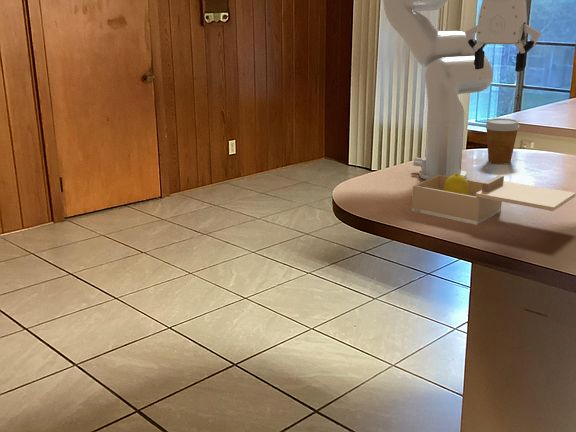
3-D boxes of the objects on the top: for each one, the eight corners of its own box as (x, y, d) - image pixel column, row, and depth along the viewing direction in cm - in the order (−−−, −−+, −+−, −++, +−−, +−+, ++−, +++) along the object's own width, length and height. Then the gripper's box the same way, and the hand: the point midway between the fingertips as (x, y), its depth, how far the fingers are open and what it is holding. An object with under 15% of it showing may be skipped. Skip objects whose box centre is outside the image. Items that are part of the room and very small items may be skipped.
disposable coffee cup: (514, 158, 197) (518, 118, 193) (517, 166, 188) (521, 124, 184) (481, 157, 199) (484, 117, 195) (483, 165, 190) (486, 123, 186)
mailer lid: (475, 196, 139) (476, 184, 138) (500, 184, 148) (501, 172, 147) (553, 211, 129) (554, 198, 128) (575, 196, 138) (576, 184, 137)
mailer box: (411, 210, 151) (412, 185, 149) (437, 198, 159) (439, 174, 158) (477, 224, 141) (479, 198, 139) (500, 211, 149) (503, 185, 147)
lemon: (468, 204, 152) (470, 170, 149) (466, 211, 147) (468, 177, 144) (443, 202, 154) (445, 169, 151) (441, 209, 149) (443, 175, 146)
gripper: (461, -8, 148) (456, 69, 153) (537, -10, 137) (529, 73, 142) (476, -9, 153) (471, 66, 159) (550, -10, 142) (542, 70, 148)
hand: (498, 70), depth 151 cm, fingers open, 9 cm apart
